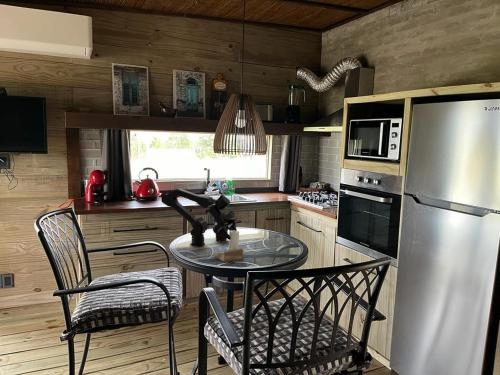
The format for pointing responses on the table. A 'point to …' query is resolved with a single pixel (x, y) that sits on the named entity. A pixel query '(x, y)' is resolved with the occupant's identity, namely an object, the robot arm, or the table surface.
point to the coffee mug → (219, 237)
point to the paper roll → (234, 239)
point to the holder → (229, 255)
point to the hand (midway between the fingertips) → (234, 237)
